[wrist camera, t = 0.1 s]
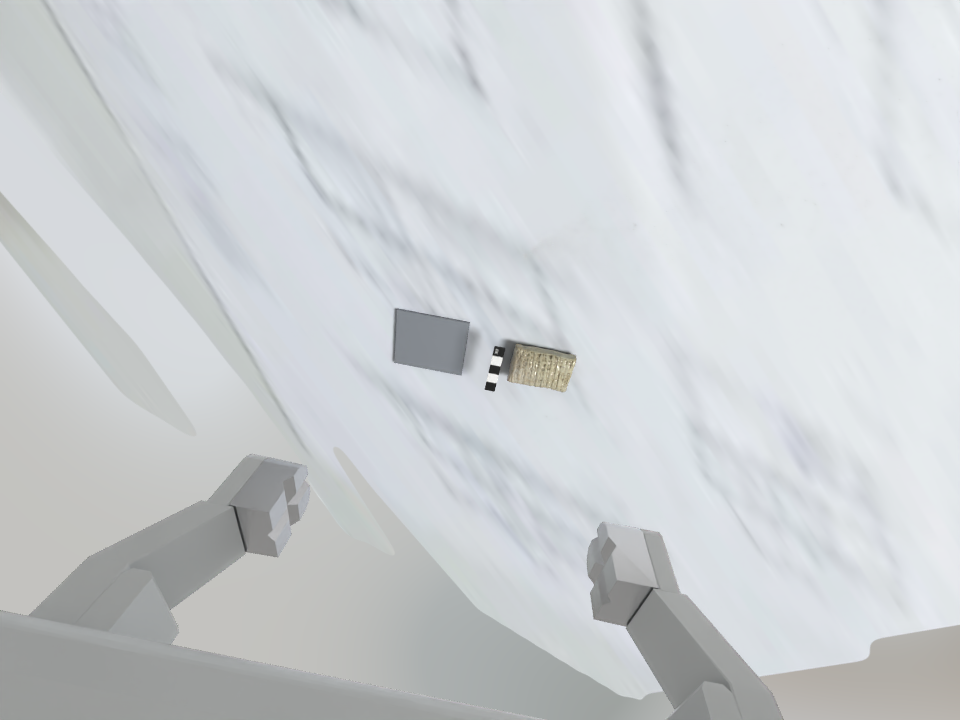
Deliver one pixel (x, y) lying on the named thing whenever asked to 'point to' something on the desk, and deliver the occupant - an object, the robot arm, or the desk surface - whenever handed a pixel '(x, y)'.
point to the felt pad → (430, 341)
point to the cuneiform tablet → (533, 367)
